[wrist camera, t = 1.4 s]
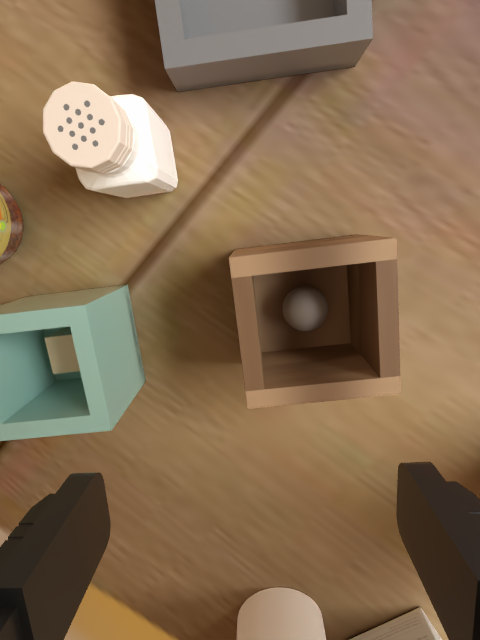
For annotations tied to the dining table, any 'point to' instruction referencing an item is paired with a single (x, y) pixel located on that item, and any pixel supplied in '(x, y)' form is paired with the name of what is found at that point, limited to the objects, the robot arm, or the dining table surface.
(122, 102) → the salt shaker
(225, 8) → the caddy
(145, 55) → the dining table surface
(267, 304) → the cubby walnut
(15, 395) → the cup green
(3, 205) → the sauce bottle
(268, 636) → the cylindrical container
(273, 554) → the dining table surface
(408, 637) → the supplement box
